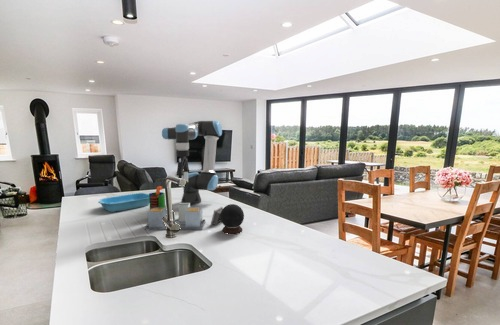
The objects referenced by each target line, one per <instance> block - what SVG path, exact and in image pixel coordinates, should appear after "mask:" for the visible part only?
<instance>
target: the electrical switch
mask: <svg viewBox="0 0 500 325" xmlns="http://www.w3.org/2000/svg"><path fill="white" fill-rule="evenodd" d="M223 208H224V207H223V206H220V207H217V208H216V209H214V210H213V214H212V218H211V222H210V224H211V225H216V226H218V225H219V224H221V223H222V222H221V218H220V214H221V211H222V209H223ZM220 222H221V223H220ZM217 224H218V225H217Z"/></svg>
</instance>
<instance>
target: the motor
mask: <svg viewBox="0 0 500 325" xmlns="http://www.w3.org/2000/svg"><path fill="white" fill-rule="evenodd" d="M161 190H163V186H161V185H160V186H157V187H156V191H154V192H150V193H148V194H149V210H151V209H152V208H153V207H166V194H165V192H163V191H161Z"/></svg>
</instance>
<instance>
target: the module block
mask: <svg viewBox="0 0 500 325" xmlns="http://www.w3.org/2000/svg"><path fill="white" fill-rule="evenodd" d="M177 206H178V209H177V210H178V221H186V218H185V211H186V210H187V209H188V208H189V207H191V205H190V203H182V202H179V203H178V205H177Z"/></svg>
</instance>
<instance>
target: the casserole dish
mask: <svg viewBox="0 0 500 325" xmlns="http://www.w3.org/2000/svg"><path fill="white" fill-rule="evenodd" d="M98 203H99V204H100V205H101V207H102V208H103V209H104V210H105V211H107V212H110V213H115V212H116V211H117V212H121V211H126V210H127V211H128V210H132V209H137V208H142V207H146V206H148V205H150V203H149V193H147V192H146V193H145V192H138V193H137V192H135V193H128V194H123V195H116V196H115V195H114V196H109V197H104V198H101V199H99V201H98Z"/></svg>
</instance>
